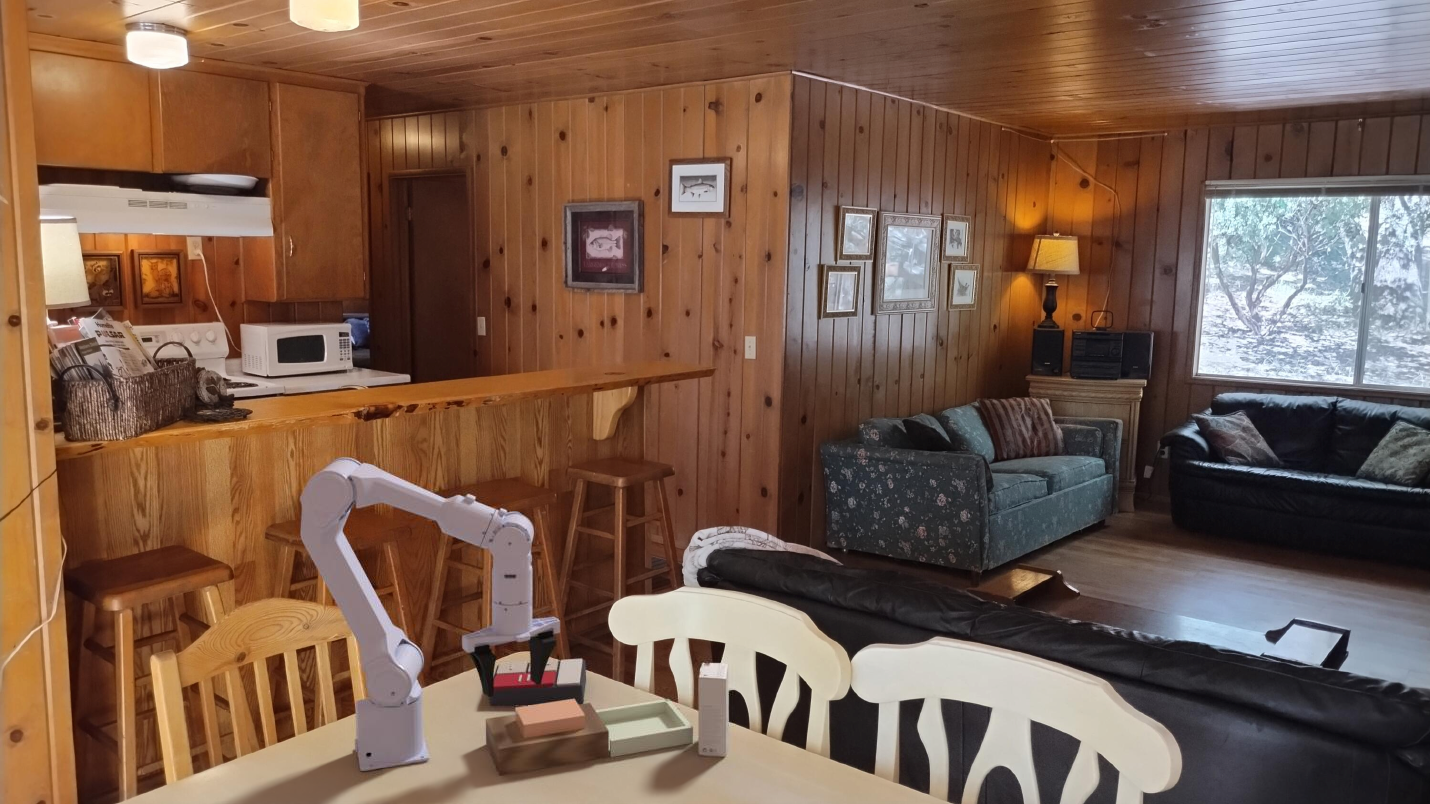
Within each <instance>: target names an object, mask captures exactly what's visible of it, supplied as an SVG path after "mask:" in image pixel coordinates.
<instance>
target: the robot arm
mask: <svg viewBox="0 0 1430 804" xmlns="http://www.w3.org/2000/svg"><path fill="white" fill-rule="evenodd" d="M476 498H477V496H474V495H472V494H470V493H467V494H466V495H465V496H462V495H460V494H456V495H455V496H452V497H449V498H448V497H447V498H444V497H443V496H440V495H438V494H437V493H434V492H431V491H429V490H427V489H425V488H422V487H421V486H419V485H415V484H414V483H412V482H409V481H407V480H405V479H402V478H400V477H397V476H395V475H393V474H392V473H389V472H387V471H385V470H383V469H380V468H379V467H377V466H375V465H374V464H370V463H366V462H363V463H361V462H360V461H359V460H357V459H355V458H352V457H346V456H345V457H339V458H336V459H334V460H332V461H331V462H329V464H328V465H327V466H326V467H324V468H323V469H322V470H321V471H318V472H317V473H315V474H313V475H312V476H311V477H310V478H309V480H308V481H307V483H306V486H305V487H304V489H303V491H302V493H301V495H300V497H299V500H300V504H301V518H300V520H301V521H300V538H301V541H302V543H303V545H304V547H305V549H306V551H307V552H308V554H309V557H310V558H311V560H312V561H313V564H314V565H315V567H316V569H317V571H318V573H319V574H320V576H321V578H322V580H323V581H324V582H323V583H325V585H326V587H327V589H328V591H329V593H330V594H331V596H332V598H333V600H334V602H335V604H336V606H337V607H338V609H339V611H340V612H341V614H342V616H343V618H344V619H345V622H346V624H347V626H348V627H349V629H350V631H351V633H352V635H353V637H354V638H355V640H356V641H357V644H358V645H359V649H360V650H359V651H360V653H359V654H360V666H361V669H362V670H363V672H364V674H365V680H366V681H365V682H366V685H365V686H366V690H367V694H368V695H369V696H367V697H364V698H362V699H359V700H356V701H355V731H356V735H355V736H356V738H355V739H354V748H355V752H356V753H357V757H358V764H359V770H360V772H361V771H362V772H365V771H366V772H367V771H372V770H377V769H383V768H390V767H396V766H402V765H403V766H404V765H408V764H414V763H419V762H427V761H429V760H430V754H429V750H428V748H427V744H426V740H425V737H424V722H423V721H424V717H423V716H424V715H423V712H424V711H423V706H424V705H423V687H422V686H421V685H420V683H419V680H418V679H417V678H418V676H419V675H420V673H421V671H423V667H424V663H425V661H424V660H425V659H424V653H423V652H422V650H421V649H420V647H418V645H416V644H415V643H414V642H412V641H411V640H410V639H409V638H408V637H407V635H406V633H405V632H404V630H402V629H401V628H399V627H397V626H396V625H394V624H393V623H392V620H391V618H390V617H389V615H388V612H387V611H386V610H385V607H384V606H383V604H382V603H381V599H380V598H379V596H378V595H377V593H376V591H375V589H374V587H373V586H372V584H371V582H370V580H369V578H368V577H367V574H366V573H365V570H364V569H363V567H362V564H361V563H360V562H359V560H358V558H357V555H356V554H355V552H354V550H353V549H352V547H351V545H350V543H349V541H348V538H347V537H346V535H345V534H344V532H343V531H344V530H343V529H344V527H345V524H346V523H347V520H348V517H349V515H350V513H351V509H352V508H353V506H354V505H356V506H355V508H356V509H361V508H365V507H369V506H372V505H373V506H374V505H377V504H380V503H381V504H385V505H388V506H390V507H395V508H396V509H397V508H398V509H401V510H404V511H406V512H409V513H412V514H415V515H419V516H421V517H425V518H428V519H431V520H432V521H436V523H437V524H438V527H439V528H440V530H441V532H442V533H443V534H446V535H449V536H451V537H453V538H456V539H458V540H461V541H462V542H463V541H464V542H466V543H469V544H472V545H474V546H476V547H479V548H482V549H489V552H490V554H491V556H492V562H493V563H492V564H493V565H492V566H493V567H492V568H491V583H492V584H491V622H492V623H491V625H490V626H487V627H485V628H482V629H480V630H477V631H475V632H471V633H469V634H465V635H462V636H461V637H462V641H461V642H462V643H461V646H462V649H463V651H465V652H466V653H467V654H469V656H470V658H471V660H472V662H473V664H474V667H475V669H476V671H477V674H478V677H479V680H480V685H481V688H482V693H483V694H485V696H486V697H487V698H490V697H491V696H493V693H494V678H493V677H494V674H495V665H496V660H497V658H498V657H497V655H496V654H494V653H493V652H492V651H493V649H492V648H491V647H493V646H499V645H501V644H507V643H510V642H517V643H522V642H526V641H527V642H528V647H529V657H530V658H529V660H530V661H529V663H530V676H531V681H533V682H534V683H535V684H536V685H539V684H541V682H542V678H543V674H544V670H545V667H546V664H547V662H548V660H550V657H551V655H552V653H553V651H554V649H556V646H557V644H558V638H557V637H556V636H555V634H560V633H561V620H559V619H558V618H557V617H555V616H550V617H541V618H533V566H532V563H533V562H532V561H533V556H532V546H533V545H532V543H533V540H534V536H535V532H534V530H535V529H534V525H533V523H532V521H531V520H530V519H529V518H528V517H527V516H525V515H523V514H522V513H520V512H519V511H509V512H508V510H507V509H505V508H502V507H501V508H499V509H500V510H499V509H496V508H493V507H491V506H488V505H487V504H486V505H485V504H483V503H481V502H478V501H476Z"/></svg>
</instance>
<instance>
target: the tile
mask: <svg viewBox="0 0 1430 804" xmlns="http://www.w3.org/2000/svg"><path fill="white" fill-rule="evenodd" d="M514 714H515V721H516V723H517V725H518V727H519V729H520V731H521V733H522V735H523V737H524V738H528V737H534V736H540V735H546V734H552V733H559V732H565V731H571V730H577V729H583V728H585V714H584V713H583V711H582V710H581V708H580V707H579V705H578V703H577V702H576V700H575V699H569V700H563V701H556V702H549V703H543V704H536V705H530V706H515V708H514Z"/></svg>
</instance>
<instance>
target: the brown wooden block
mask: <svg viewBox="0 0 1430 804" xmlns="http://www.w3.org/2000/svg"><path fill="white" fill-rule="evenodd" d="M579 707H580V708H581V710H582V711H583V713H584V714H585V728H583V729H577V730H571V731H565V732H559V733H552V734H546V735H540V736H534V737H528V738H524V737H523V735H522V733H521V731H520V729H519V727H518V725H517V723H516V721H515V713H514V714H510V715H503V716H496V717H489V718H485V744H486V745H485V746H486V747H487V749H488V753H489V754H490V757H491V760H492V762H493V764H494V766H495V769H496V772H497V774H498V776H505V775H511V774H515V773H523V772H529V771H534V770H539V769H545V768H550V767H551V768H552V767H556V766H563V765H567V764H573V763H579V762H586V761H591V760H595V759H601V758H608V757H609V756H610V754H609V730H608V729H607V727H606V726H605V724H604V723H603V721H602V720H601V718H600V717H599V716H598V714H597V713H596V711H595V708H594V707H593V705H592V703H591V702H588V703H587V702H586V703H583V704H579Z"/></svg>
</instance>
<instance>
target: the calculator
mask: <svg viewBox="0 0 1430 804" xmlns="http://www.w3.org/2000/svg"><path fill="white" fill-rule="evenodd" d="M493 678H494V693H493V696H491V697H489V705H490V707H517V706H516V705H519V706H518V707H521V706H520V705H526V706H527V705H536V704H543V703H549V702H556V701H563V700H569V699H575V700H576V702H577V703H578V705H579V704H585V694H586V693H585V691H586V686H587V685H586V684H587V667H586V660H585V659H583V658H572V659H569V658H568V659H561V660H559V659H558V658H553V659H551V658H549V659H548V662H547V664H546V667H545V670H544V674H543V678H542V682H541V684H539V685H536V684H535V683H534V682H533V681H531V676H530V662H528V660H522V661H521V660H520V661H519V660H518V661H503V662H502V661H501V662H500V663H499V664H498V665H497V666H496V669H495V670H494V677H493Z"/></svg>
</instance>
